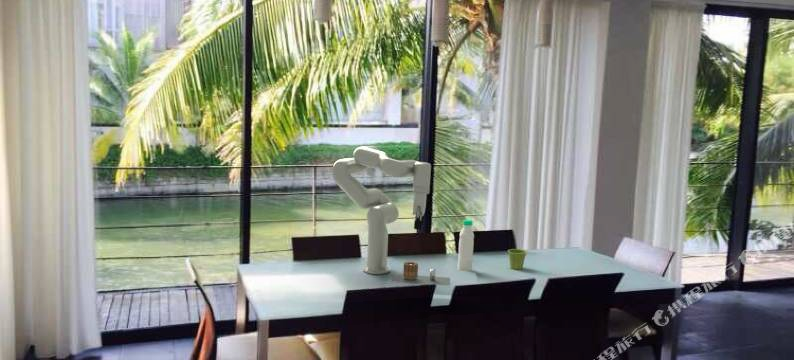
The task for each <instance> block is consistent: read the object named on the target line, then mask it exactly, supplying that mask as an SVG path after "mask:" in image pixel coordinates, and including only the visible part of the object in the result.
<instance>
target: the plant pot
mask: <svg viewBox="0 0 794 360" xmlns="http://www.w3.org/2000/svg"><path fill="white" fill-rule="evenodd" d="M507 253H508V255H509V268H511V269H513V270H522V269H523V267H524V263H525V259H526V256H527V255H526V254H527V253H528V252H527V250H524V249H518V248H511V249H508V250H507Z"/></svg>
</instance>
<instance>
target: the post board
mask: <svg viewBox="0 0 794 360" xmlns="http://www.w3.org/2000/svg"><path fill="white" fill-rule="evenodd" d="M391 282H398V283H413V284H424V285H426V284H427V285H439V286H441V285H442V286H451V277H447V276H445V277H444V276H435V281H430V275H418V277H417V278H416V280H406V279H405V277H403V274H399V273H394V274H393V275H392V279H391Z"/></svg>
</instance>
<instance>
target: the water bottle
mask: <svg viewBox="0 0 794 360" xmlns="http://www.w3.org/2000/svg"><path fill="white" fill-rule="evenodd" d="M472 226H473V220H471V219H463V221H462V229H461V231H460V232H459V241H458V257H457V261H458V262H457V270H458V271H461V272H462V271H463V272H465V271H467V272H471V271H472V270H473V261H474V260H473V259H474V258H473V254H474V241H475V240H474V238H475V234H474V231H473V229H472Z"/></svg>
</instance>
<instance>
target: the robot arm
mask: <svg viewBox="0 0 794 360" xmlns="http://www.w3.org/2000/svg"><path fill="white" fill-rule="evenodd" d="M352 156H353V157H347V158H341V159H338V160H336V161H335V162H334V164H333V166H332V169H331V170H332V172H331V173H332V177H333V180H334V182H335V184H336V185H337V186H338V187H339V188H340V189H341V190H342V191H343V192H344V193H346V195H347V196H348V198H349V199H351V201H352V202H353V203H354V204H355V205H356V206H357V207H358V208H359V209H361V210H363V211H364V210H365V211H366V210H368V211H367V214H366V222H367V223H366V224H367V254H366V265H365V266H364V267H363V269H362V271H363V272H365V273H366V274H371V275H385V274H388V273H390V272H391V268H389V267H387V266H388V247H389V246H388V245H389V244H388V243H389V232H388V228H387V225H388V224H391V223H394V222H396V221H397V220H398V218H399V209H398V207H397V206H396V205H395V204H394V202H393V201H392V200H391V199H390V198H389V197H388V196H387V195H386V194H385V192H383V191H382V190H380V189H379V188H376V187H375V188H367V187H365V186H364V185H363V184H362V183H361V181H359V179H356V178H355V177H354V176H357V175H360V174H361V175H362V173H363V172H365V171H367V170H369V169H370V168H372V169H375V170H379V171H381V172H382V173H383V174H385V175H388V176H391V177H396V178H409V177H413V180H412V182H413V183H412V193H413V194H414V196H413V206H412V216H415V217H414V224H413V226H414V227H413V229H414V230H422V226H423V225H424V222H425V221H424V219H425V217H424V215H425V212H426V206H427V205H426V204H427V195H429V194H430V189H431V188H430V187H431V186H430V185H431V170H432V164H431V163H429V162H426V161H425V162H424V161H418V160H414V159H405V160H397V159H394V158H391V157H389V154H388V153H387V152H385V151H381V150H380V149H379V148H378V147H376V146H374V145H365V146H360V147H357V148H356V149H355V150H354V151H353V155H352Z"/></svg>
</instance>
